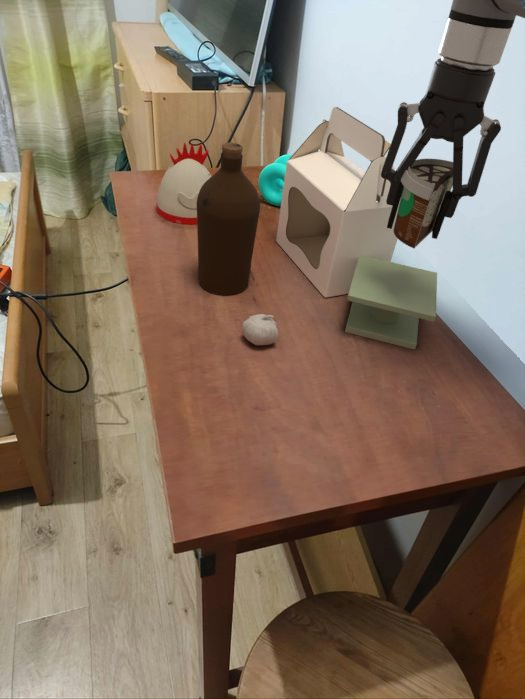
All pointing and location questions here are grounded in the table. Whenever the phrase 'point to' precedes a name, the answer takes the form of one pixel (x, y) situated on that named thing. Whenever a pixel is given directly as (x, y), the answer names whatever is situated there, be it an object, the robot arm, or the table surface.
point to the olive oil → (227, 226)
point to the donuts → (273, 180)
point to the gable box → (336, 204)
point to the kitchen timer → (182, 186)
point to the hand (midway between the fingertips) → (412, 229)
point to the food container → (422, 199)
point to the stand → (390, 301)
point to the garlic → (260, 329)
